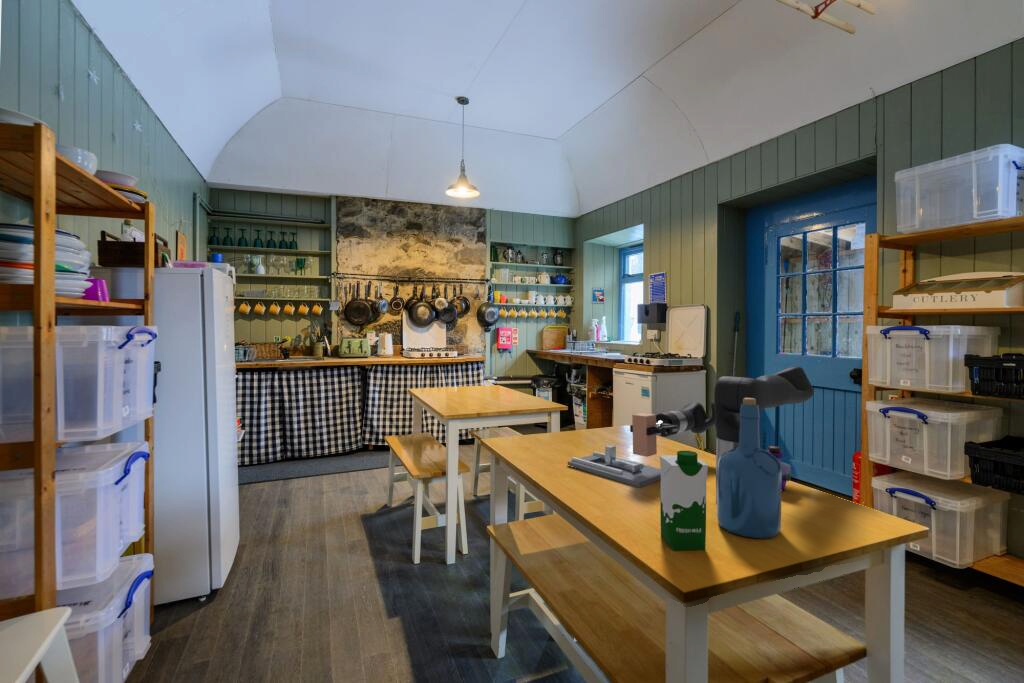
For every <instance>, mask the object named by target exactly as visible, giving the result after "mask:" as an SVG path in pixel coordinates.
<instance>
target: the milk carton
mask: <svg viewBox="0 0 1024 683" xmlns="http://www.w3.org/2000/svg"><path fill="white" fill-rule="evenodd" d="M659 466H660V467H659V469H660V470H661V480H660V510H659V511H660V512H659V513H660V536H661V537H662V539H663V540H664V541H665V543H666V544H667V545H668V546H669V547H670V549H671V550H672V551H697V550H699V551H700V550H701V551H703V550H706V543H707V542H706V539H707V537H706V535H707V534H706V532H707V480H708V478H707V477H708V470H709V464H707V463H706V462H704V461H703V460H701V458H699V457H698V452H696V451H691V450H678V451H677V452H676V455H659Z"/></svg>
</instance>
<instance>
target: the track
mask: <svg viewBox="0 0 1024 683" xmlns="http://www.w3.org/2000/svg"><path fill="white" fill-rule="evenodd" d="M616 459H620V460H624V461H628V462H632V463H635V464H638V463H640V462H639V461H635V460H630V459H627V458H623V457H619V456H616ZM641 463H642V470H640V471H637V472H632V470H628V469H624V468H621V467H617V466H613V465H607V464H605V453H604V452H598V451H593V452H592V454H591V455H587V456H583V457H580V458H579V457H575V456H573V457H571V460H569V461H567V466H568V465H570V466H573V467H576V468H579V469H582V470H585V471H584V472H586V471H588V472H587V473H589V472H591V473H590V474H592V473H594V474H593V475H596V474H597V476H599V475H600V476H599V477H602V476H603V477H602V478H606V479H609V478H610V479H609V480H612V479H613V480H612V481H616V482H619V483H622V482H623V483H622V484H626V485H629V486H632V485H633V486H632V487H636V488H642V487H644V486H647V485H650V484H653V483H655V482H657V481H661V480H660V479H661V470H660V467H659V468H658V467H655V466H651V465H647V464H644V463H643V462H641ZM576 468H575V469H576ZM579 469H578V470H579ZM582 470H581V471H582Z"/></svg>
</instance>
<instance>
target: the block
mask: <svg viewBox="0 0 1024 683" xmlns="http://www.w3.org/2000/svg"><path fill="white" fill-rule="evenodd" d="M656 415H657V414H656V413H655V414H654V413H647V412H646V413H645V412H640V413H639V412H638V413H635V414H632V415H631V416H632V417H631V418H632V422H631V423H632V424H631V425H632V426H633V432H632V454H633V455H637V456H641V457H647V458H648V457H651V456H654V455H657V453H658V450H657V448H658V447H657V446H658V445H657V435H656V434H654V435H650V436H648V435H646V429H647V428H649V427H655V426H656Z"/></svg>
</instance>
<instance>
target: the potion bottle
mask: <svg viewBox="0 0 1024 683" xmlns="http://www.w3.org/2000/svg"><path fill="white" fill-rule="evenodd" d="M765 450H766V451H768V452H769V453H771V454H772V455H773V456H775V457H776V458H777V459H778V461H779V462H780V464H781V470H782V488H781V490H786V489H785V488H786V485H787V482H790V480H791V473H792V472H791V471H792V466H791V465H790V464H789V463H786V462H782V461H781V458H784V452H783V451H781V450H782V448H781V446H776V445H775V446H774V445H769V446H768V449H765Z"/></svg>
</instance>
